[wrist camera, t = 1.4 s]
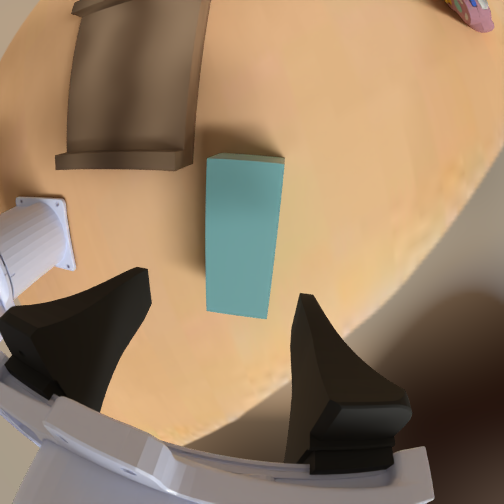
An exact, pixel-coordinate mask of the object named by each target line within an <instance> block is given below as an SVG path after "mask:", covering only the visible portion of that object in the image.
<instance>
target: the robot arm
mask: <svg viewBox="0 0 504 504" xmlns="http://www.w3.org/2000/svg"><path fill="white" fill-rule="evenodd" d="M54 266H56V267H59V268H63V269H67V270H70V271H74V270H75V269H76V264H75V259H74V255H73V249H72V244H71V238H70V232H69V226H68V219H67V212H66V203H65V200H64V199H62V198H44V197H20V196H19V197H17V198H16V206H15V207H13V208H11V209H9V210H7V211H5V212H3V213H1V214H0V342H1V341H2V340H3V339H4V341H5V343H6V345H7V347H8V348H9V350H10V352H11V354H12V356H11V357H10V358H8V357H7V356H6V355H5V354H4V353H3V352H2V351H0V415H2V416H3V417H4V418H5V419H6V420H7V421H8V422H9V423H11V424H12V425H13V426H14V427H15V428H16V429H17V430H18V431H20V432H21V433H22V434H23V435H24V436H26V437H27V438H28V439H30V440H31V441H32V442H33V443H35V444H36V445H37V446H38V447H40V449H39V450H38V452H37V454H36V456H35V458H34V460H33V462H32V463H31V465H30V467H29V469H28V471H27V473H26V475H25V477H24V479H23V481H22V483H21V486H20V488H19V490H18V492H17V494H16V496H15V498H14V500H13V503H12V504H425V503H428V502H430V501H432V500H433V499H434V492H433V485H432V479H431V474H430V468H429V463H428V458H427V454H426V449H425V447H418V448H412V449H406V450H401V451H398V452H396V453H394V454H393V452H392V447H393V446H394V445H395V439H394V436H395V435H396V434H397V433H398V432H399V431H400V430H401V429H402V428H403V427H404V426H405V425H406V424H407V422H408V421H409V420H410V418H411V415H412V411H411V407H410V403H409V399H408V396H407V394H406V391H405V390H404V389H402V388H401V387H399V386H397V385H395V384H394V383H392V382H390V381H389V380H387V379H386V378H384V377H383V376H381V375H380V374H379V373H377V372H376V371H375V370H373V369H372V368H371V367H370V366H368V365H367V364H366V363H365V362H364V361H363V360H362V359H361V358H360V357H358V356H357V355H356V354H355V353H354V352H353V351H352V350H351V348H350V347H349V346H347V344H346V343H345V342H344V341H343V339H342V338H341V337H340V336H339V334H338V333H337V332H336V330H335V329H334V327H333V326H332V324H331V323H330V321H329V320H328V318H327V317H326V315H325V314H324V312H323V310H322V309H321V307H320V305H319V304H318V302H317V300H316V298H315V297H314V295H311V294H303V293H300V295H299V299H298V303H297V308H296V312H295V316H294V320H293V324H292V330H291V343H290V351H291V372H292V400H291V412H290V422H289V430H288V438H287V446H286V453H285V459H284V463H274V462H263V461H255V460H247V459H240V458H233V457H228V456H222V455H217V454H212V453H207V452H202V451H198V450H193V449H190V448H186V447H182V446H178V445H175V444H171V443H168V442H165V441H161V440H159V439H157V438H156V437H154V436H152V435H151V434H149V433H147V432H145V431H142V430H140V429H138V428H136V427H133V426H131V425H128V424H125V423H123V422H120V421H118V420H115V419H113V418H111V417H108V416H106V415H104V414H101V413H100V410H101V407H102V403H103V400H104V397H105V394H106V391H107V388H108V385H109V383H110V380H111V378H112V375H113V373H114V370H115V368H116V366H117V364H118V362H119V359H120V357H121V356H122V354H123V352H124V350H125V349H126V347H127V346H128V344H129V342H130V341H131V339H132V338H133V336H134V335H135V333H136V332H137V330H138V328H139V327H140V325H141V324H142V322H143V321H144V319H145V317H146V315H147V313H148V311H149V308H150V306H151V304H152V301H151V293H150V285H149V276H148V269H145V268H140V267H136V268H133V269H130V270H128V271H126V272H124V273H122V274H120V275H118V276H116V277H114V278H112V279H110V280H108V281H106V282H103V283H101V284H99V285H97V286H95V287H92V288H90V289H88V290H86V291H83V292H81V293H78V294H75V295H72V296H69V297H66V298H62V299H58V300H55V301H51V302H46V303H40V304H34V305H23V306H15V304H14V301H13V300H14V299H15V298H16V297H18V296H19V295H20V294H21V293H22V292H23V291H24V290H26V289H27V288H28V287H29V286H30V285H32V284H33V283H34V282H35V281H36V280H38V279H39V278H40V277H41V276H42V275H44V274H45V273H46V272H47V271H49V270H50V269H51V268H52V267H54Z"/></svg>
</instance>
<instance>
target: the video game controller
mask: <svg viewBox="0 0 504 504" xmlns="http://www.w3.org/2000/svg"><path fill="white" fill-rule="evenodd" d="M444 1H445V2H446V3H447V4H448V5H449V7H450V8H451V9H452V10H454V11H456V12H457V13H458V14H459V16H460V17H461V18H462V19H463V21H464V22H465V23H466V24H468V25H469V26H470V27H471V28H472V29H474V30H476V31H478V32H484V33H485V32H489V31H492V30H493V29H494V23H493V21H492V19H491V11H490V8H489V6H488V3H487V1H486V0H444Z"/></svg>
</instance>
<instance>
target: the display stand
mask: <svg viewBox="0 0 504 504" xmlns="http://www.w3.org/2000/svg"><path fill="white" fill-rule="evenodd" d="M210 2H211V0H79V1H77V2H75V3H74V6H73V9H72V13H71V14H73V15H77V16H80V17H82V19H81V23H80V27H79V32H78V36H77V41H76V46H75V52H74V57H73V64H72V71H71V79H70V88H69V99H68V115H67V153H63V154H59V155H55V165H56V170H69V169H138V170H163V171H176V170H178V169H181V168H183V167H186V166H188V165H190V164H193V149H194V134H195V121H196V109H197V98H198V88H199V79H200V70H201V62H202V54H203V46H204V39H205V33H206V26H207V20H208V14H209V8H210Z"/></svg>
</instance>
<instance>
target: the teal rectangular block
mask: <svg viewBox="0 0 504 504" xmlns="http://www.w3.org/2000/svg"><path fill="white" fill-rule="evenodd" d="M284 162H285V158H282V157H272V156H261V155H249V154H234V153H219V154H217V155H214V156H212V157H209V158H207V170H206V220H205V256H206V306H207V311H211V312H217V313H224V314H231V315H238V316H245V317H253V318H261V319H267V313H268V305H269V297H270V289H271V281H272V273H273V265H274V257H275V248H276V239H277V230H278V221H279V212H280V203H281V193H282V184H283V174H284Z"/></svg>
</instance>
